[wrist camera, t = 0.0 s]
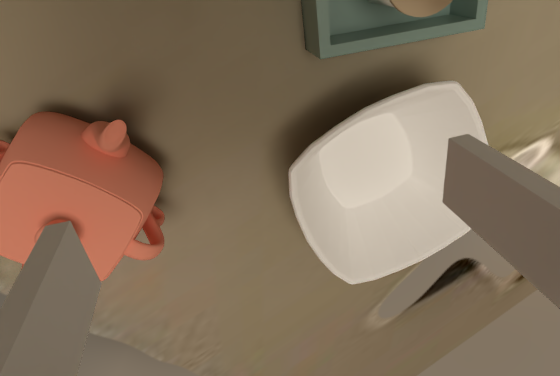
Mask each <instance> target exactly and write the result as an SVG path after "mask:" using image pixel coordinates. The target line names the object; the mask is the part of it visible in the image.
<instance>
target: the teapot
mask: <svg viewBox="0 0 560 376" xmlns="http://www.w3.org/2000/svg"><path fill="white" fill-rule="evenodd" d="M126 131H127V127H126V124H125V122H124V121H122V120H114V121H112V122H111V123H109V122H106V121H96V122H93V123H91V124H90V123H87V122H84V121H82V120H79V119H76V118H73V117H70V116H67V115H64V114H60V113H56V112H38V113H35V114H33V115H31V116H30V117H29V118H28V119H27V120H26V121H25V122H24V123H23V124H22V126H21V127H20V129H19V130H18V132H17V134H16V135H15V137H14V139H13V140H12V142H11V144H9V143H7V142H5V141H1V140H0V255H1V256H4V257H6V258H8V259H11V260H14V261H16V262H19V263H22V268H23V266H24V264H25V262H26V260H27V259H28V257H29V255H30V253H31V251H32V249H33V248H34V246H35V244H36V242H37V240H38V238H39V237H40V235H41V233H42V231H43V229H44V227H45V226H48V225H52V224H57V223H61V222H66V221H71V223H72V225H73V227H74V229H75V231H76V233H77V235H78V237H79V239H80V241H81V243H82V245H83V247H84V249H85V251H86V253H87V255H88V257H89V259H90V261H91V263H92V265H93V267H94V269H95V271H96V273H97V275H98V277H99V279H100V281H103V280H105V279H106V278H107V277H108V276H109V275H110V274H111V272H112V271H113V269H114V268H115V267H116V265H117V264H118V263H119V261H120V260H121V258H122V257H123V256H124V255H126V256H128V257H131V258H133V259H137V260H150V259H153V258H155V257H156V256H157V255H158V254H159V253H160V252H161V251H162V249H163V247H164V236H163V233H162V231H161V229H160V226H161V225H162V224H163V222H164V219H165V217H164V213H163V212H162V211H161V210H160V209H159V208H158V207H156V206H154V204H155V202H156V200H157V198H158V196H159V193H160V190H161V187H162V182H163V171H162V169H161V167H160V166H159V164H158V163H157V162H156V161H155V160H154V159H153V158H152V157H150V156H149V155H148V154H146V153H145V152H143V151H142V150H140V149H139V148H137V147H136V146H134V145H132V144H131V143H130V139H129V136H128V135H127V134H126ZM142 228H143V230H144V232H145V234H146V236H147V238H148V240H149V242H150V244H151V245H150V244H145V243H142V242H139V241H137V240H135V238H136V237H137V235H138V234H139V232H140V230H141V229H142ZM21 270H22V269H21Z"/></svg>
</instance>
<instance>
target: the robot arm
mask: <svg viewBox="0 0 560 376" xmlns="http://www.w3.org/2000/svg"><path fill="white" fill-rule="evenodd" d="M442 202H443V203H444V204H445V205H446V206H447V207H448V208H449V209H450V210H451V211H452V212H454V213H455V214H456V215H457V216H458V217H459V218H460V219H461V220H462V221H463V222H465V223H466V224H467V225H468V226H469V227H470V228H471V229H472V230H473V231H474V232H476V233H477V234H478V235H479V236H480V237H481V238H482V239H483V240H484V241H486V242H487V243H488V244H489V245H490V246H491V247H492V248H493V249H494V250H495V251H496V252H498V253H499V254H500V255H501V256H502V257H503V258H504V259H505V260H506V261H507V262H509V263H510V264H511V265H512V266H513V267H514V268H515V269H516V270H517V271H518V272H520V273H521V274H522V275H523V276H524V277H525V278H526V279H527V280H528V281H529V282H530V283H532V284H533V285H534V286H535V287H536V288H537V289H538V290H539V291H540V292H541V293H543V294H544V295H545V296H546V297H547V298H548V299H549V300H550V301H551V302H553V303H554V304H555V305H556V306H557V307H558V308H559V309H560V187H558V186H557V185H555V184H553V183H552V182H550V181H548V180H546V179H545V178H543V177H541V176H540V175H538V174H536V173H535V172H533V171H531V170H529V169H528V168H526V167H524V166H523V165H521V164H519V163H517V162H516V161H514V160H512V159H511V158H509V157H507V156H505V155H504V154H502V153H500V152H499V151H497V150H495V149H493V148H492V147H490V146H488V145H487V144H485V143H483V142H481V141H480V140H478V139H476V138H475V137H473V136H471V135H470V134H465V135H460V136H456V137H451V138H449V140H448V150H447V160H446V170H445V180H444V190H443V200H442ZM100 287H101V281H100V279H99V277H98V275H97V273H96V271H95V269H94V267H93V265H92V263H91V261H90V259H89V257H88V255H87V253H86V251H85V249H84V247H83V245H82V243H81V241H80V239H79V237H78V235H77V233H76V231H75V229H74V227H73V225H72V223H71V221H66V222H61V223H57V224H52V225H48V226H45V227H44V229H43V231H42V233H41V235H40V237H39V238H38V240H37V242H36V244H35V246H34V248H33V249H32V251H31V253H30V255H29V257H28V259H27V260H26V262H25V264H24V266H23V268H22V270H21V271H20V273H19V275H18V277H17V279H16V281H15V283H14V284H13V286H12V288H11V290H10V292H9V294H8V295H7V297H6V299H5V301H4V303H3V305H2V306H1V308H0V376H77V373H78V369H79V366H80V362H81V358H82V354H83V351H84V347H85V343H86V339H87V335H88V332H89V328H90V324H91V321H92V317H93V313H94V309H95V306H96V302H97V298H98V294H99V291H100Z"/></svg>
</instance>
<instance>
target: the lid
mask: <svg viewBox="0 0 560 376" xmlns="http://www.w3.org/2000/svg"><path fill="white" fill-rule="evenodd" d="M389 1H390V2H391V4H392V5H393V6H394V7H395V8H396V9H397V10H398V11H400V12H401V13H403V14H406V15H409V16H414V17H426V16H430V15H433V14H435V13H437V12H439V11H441V10H442V9H444V8H445V7H446V6H447V5H448V4H450V3H451V1H452V0H389Z"/></svg>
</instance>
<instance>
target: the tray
mask: <svg viewBox="0 0 560 376" xmlns="http://www.w3.org/2000/svg"><path fill="white" fill-rule="evenodd" d="M301 4H302V15H303V26H304V37H305V47H306V50H308V51H309V52H311V53H312V54H314V55H315V56H316V57H318V58H319V59H324V58H330V57H335V56H340V55H346V54H351V53H356V52H362V51H367V50H372V49H378V48H383V47H388V46H394V45H399V44H404V43H410V42H415V41H420V40H426V39H431V38H436V37H442V36H447V35H453V34H458V33H463V32H469V31H474V30H479V29H484V28H485V20H486V12H487V4H488V0H452V1H451V3H450V4H448V5H447V6H446V7H445V8H444V9H442V10H441V11H439V12H437V13H435V14H433V15H430V16H426V17H414V16H409V15H406V14H403V13H401V12H400V11H398V10H397V9H396V8H395V7H390V6H384V5H379V4H374V3H371V2H369V1H367V0H301Z"/></svg>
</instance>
